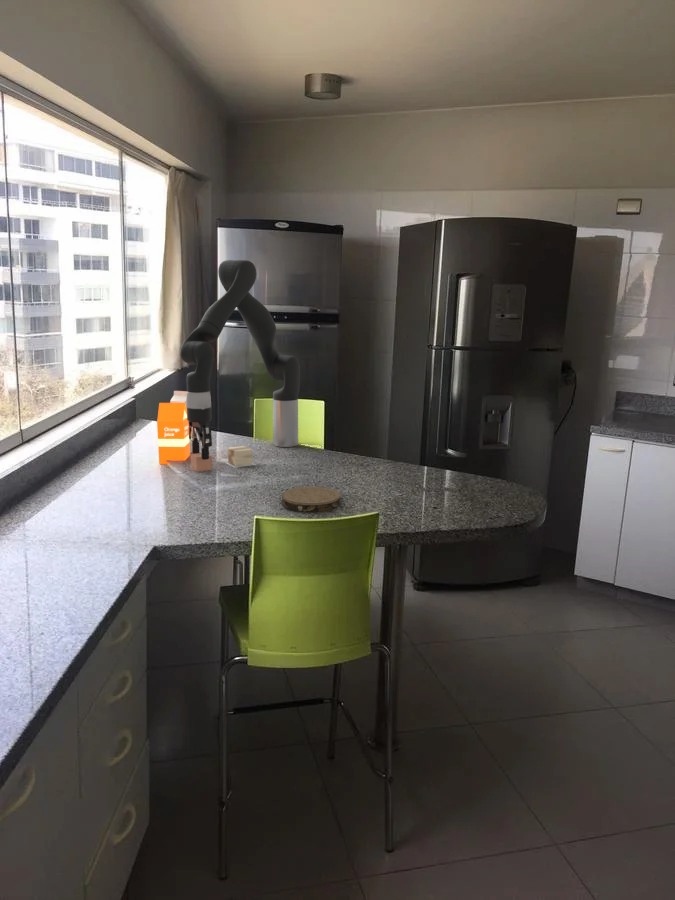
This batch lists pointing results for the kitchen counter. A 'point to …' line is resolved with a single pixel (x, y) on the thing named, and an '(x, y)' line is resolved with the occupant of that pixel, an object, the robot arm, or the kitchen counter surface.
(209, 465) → the terracotta block
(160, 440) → the orange juice
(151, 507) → the kitchen counter surface
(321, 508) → the tambourine
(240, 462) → the birch block
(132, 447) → the kitchen counter surface
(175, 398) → the milk
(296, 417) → the robot arm
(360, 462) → the kitchen counter surface
